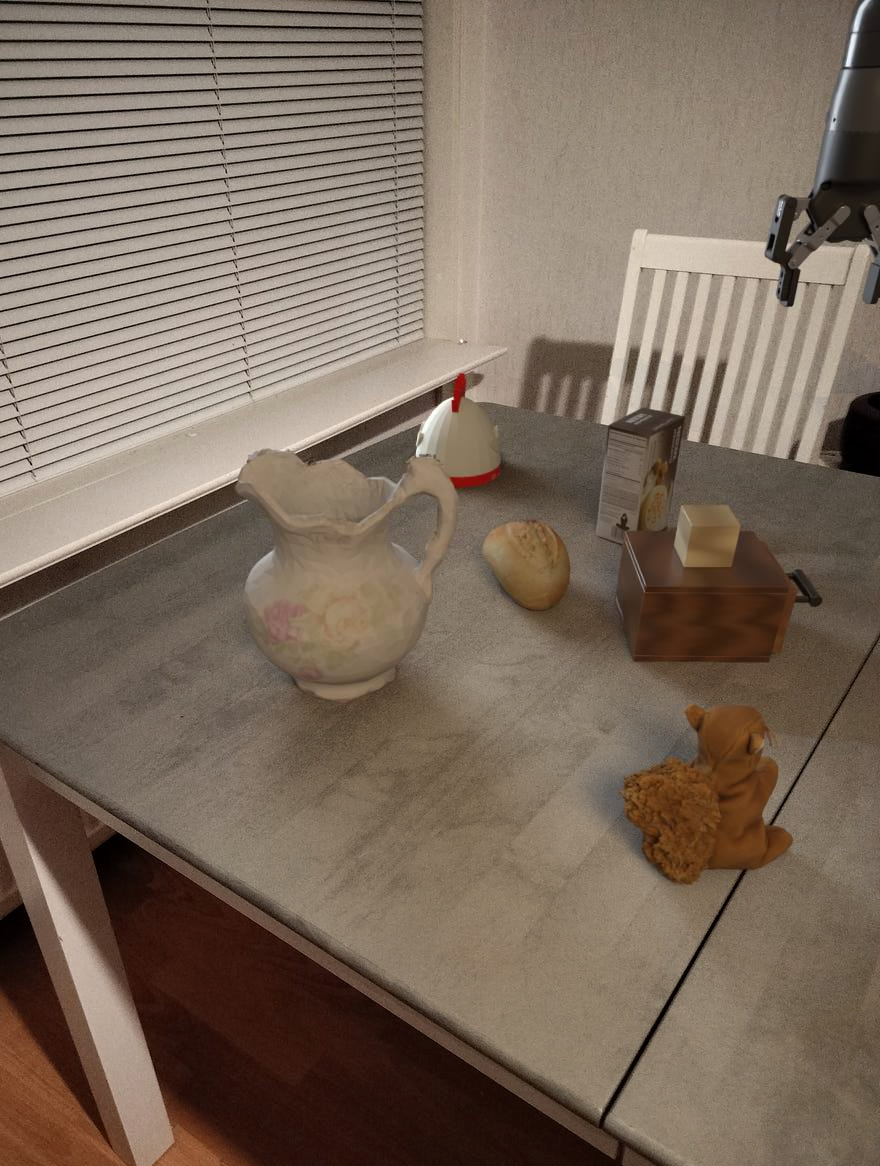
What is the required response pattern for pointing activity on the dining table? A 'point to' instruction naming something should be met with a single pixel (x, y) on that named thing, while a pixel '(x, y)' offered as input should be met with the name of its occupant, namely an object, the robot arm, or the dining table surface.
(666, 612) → the cabinet
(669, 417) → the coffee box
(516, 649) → the dining table surface
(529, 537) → the bread roll
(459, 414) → the white chicken egg cooker
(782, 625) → the drawer
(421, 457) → the ceramic pitcher
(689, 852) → the stuffed squirrel
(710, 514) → the block
